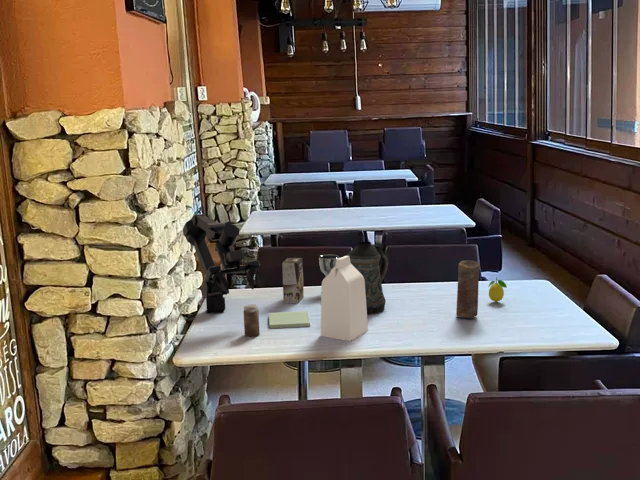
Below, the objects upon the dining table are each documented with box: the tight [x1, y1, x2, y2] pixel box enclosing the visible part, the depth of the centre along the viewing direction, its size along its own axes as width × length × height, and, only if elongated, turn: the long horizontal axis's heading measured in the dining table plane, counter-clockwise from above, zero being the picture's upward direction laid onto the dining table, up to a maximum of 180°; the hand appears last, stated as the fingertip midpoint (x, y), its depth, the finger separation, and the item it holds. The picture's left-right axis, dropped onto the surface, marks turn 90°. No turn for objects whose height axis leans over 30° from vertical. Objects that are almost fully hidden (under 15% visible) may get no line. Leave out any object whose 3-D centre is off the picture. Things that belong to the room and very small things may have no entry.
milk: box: [320, 255, 369, 342], centre depth 237 cm, size 12×12×26 cm
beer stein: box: [346, 241, 389, 316], centre depth 266 cm, size 16×19×25 cm
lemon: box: [488, 277, 508, 303], centre depth 269 cm, size 7×6×10 cm
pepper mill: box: [243, 303, 261, 338], centre depth 240 cm, size 5×5×10 cm
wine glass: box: [318, 254, 340, 277], centre depth 288 cm, size 8×8×15 cm
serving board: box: [268, 310, 311, 329], centre depth 254 cm, size 14×14×1 cm
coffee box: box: [281, 257, 305, 304], centre depth 279 cm, size 9×6×16 cm
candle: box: [455, 259, 480, 320], centre depth 251 cm, size 8×7×20 cm
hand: (240, 290), depth 245 cm, fingers open, 9 cm apart
